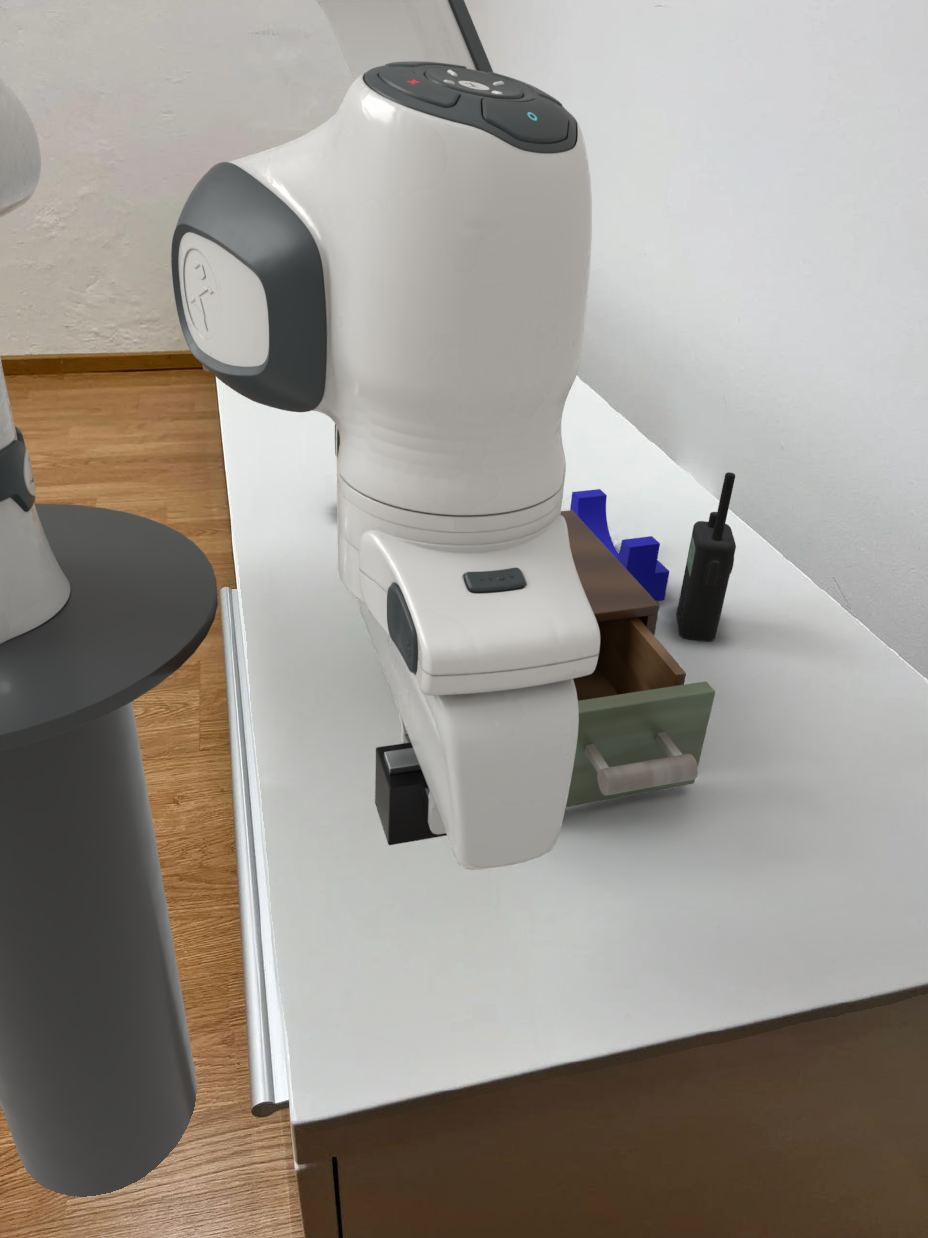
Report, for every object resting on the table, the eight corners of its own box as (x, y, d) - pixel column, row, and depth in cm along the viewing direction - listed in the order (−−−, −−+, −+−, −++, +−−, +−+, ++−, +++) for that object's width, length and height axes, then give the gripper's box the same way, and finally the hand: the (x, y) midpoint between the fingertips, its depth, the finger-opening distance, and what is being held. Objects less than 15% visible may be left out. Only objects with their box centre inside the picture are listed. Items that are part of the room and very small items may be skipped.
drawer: (725, 824, 61) (750, 729, 57) (553, 859, 58) (567, 760, 54) (603, 662, 76) (616, 577, 72) (462, 682, 73) (467, 595, 69)
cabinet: (640, 712, 72) (660, 605, 67) (477, 738, 69) (485, 627, 64) (560, 606, 85) (572, 509, 80) (420, 623, 82) (422, 523, 77)
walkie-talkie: (675, 611, 85) (705, 455, 77) (713, 615, 85) (747, 459, 77) (679, 640, 81) (712, 478, 73) (719, 644, 81) (756, 482, 73)
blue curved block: (664, 599, 87) (675, 541, 84) (620, 606, 86) (629, 547, 83) (605, 541, 97) (613, 487, 94) (565, 546, 95) (572, 491, 92)
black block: (388, 846, 44) (389, 782, 42) (374, 803, 47) (375, 740, 45) (489, 828, 46) (495, 765, 44) (471, 787, 48) (476, 725, 46)
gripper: (325, 441, 46) (329, 675, 53) (438, 689, 29) (421, 978, 36) (451, 435, 47) (438, 662, 55) (624, 665, 31) (572, 945, 38)
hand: (432, 791), depth 45 cm, fingers closed on black block, 3 cm apart
